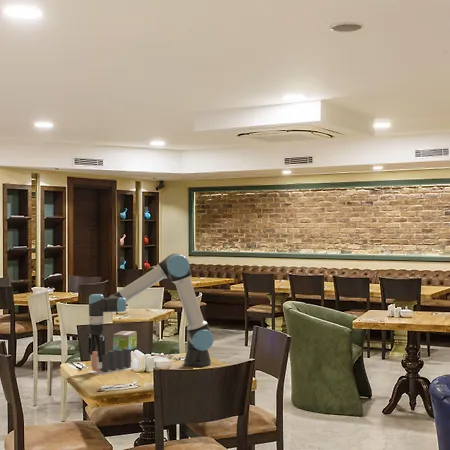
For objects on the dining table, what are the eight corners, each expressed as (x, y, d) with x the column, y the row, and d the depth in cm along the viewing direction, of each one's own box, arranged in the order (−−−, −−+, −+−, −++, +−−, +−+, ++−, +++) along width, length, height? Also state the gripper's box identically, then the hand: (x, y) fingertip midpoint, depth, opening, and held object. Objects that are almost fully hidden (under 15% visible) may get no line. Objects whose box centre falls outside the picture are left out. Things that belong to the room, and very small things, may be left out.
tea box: (128, 360, 406) (128, 334, 406) (112, 359, 408) (112, 334, 408) (137, 355, 420) (137, 330, 420) (121, 354, 422) (121, 330, 422)
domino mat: (136, 369, 380) (136, 368, 380) (99, 375, 363) (99, 374, 363) (123, 365, 388) (123, 365, 388) (86, 372, 371) (86, 371, 371)
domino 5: (130, 367, 381) (130, 349, 381) (128, 367, 380) (128, 349, 380) (125, 366, 385) (125, 348, 385) (122, 366, 384) (122, 348, 384)
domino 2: (108, 371, 371) (108, 352, 371) (105, 372, 370) (105, 353, 370) (102, 370, 374) (102, 351, 374) (100, 370, 373) (100, 352, 373)
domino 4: (123, 368, 378) (123, 350, 378) (120, 369, 377) (120, 350, 377) (117, 367, 381) (117, 349, 381) (115, 368, 380) (115, 349, 380)
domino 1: (100, 371, 367) (100, 352, 367) (97, 371, 366) (97, 352, 366) (94, 369, 371) (94, 351, 371) (92, 370, 369) (92, 351, 369)
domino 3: (115, 370, 374) (115, 351, 374) (113, 370, 373) (113, 352, 373) (110, 368, 378) (110, 350, 378) (107, 369, 377) (107, 350, 377)
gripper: (80, 322, 372) (80, 366, 372) (100, 326, 359) (100, 371, 359) (92, 321, 377) (92, 364, 377) (112, 324, 365) (112, 368, 365)
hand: (96, 367), depth 368 cm, fingers closed on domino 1, 5 cm apart
